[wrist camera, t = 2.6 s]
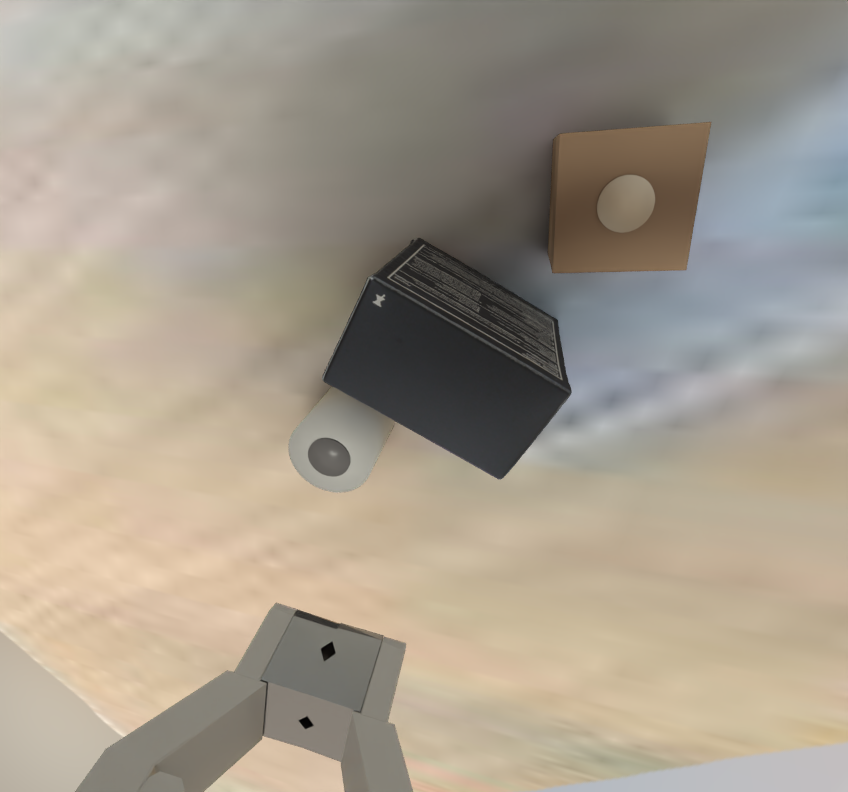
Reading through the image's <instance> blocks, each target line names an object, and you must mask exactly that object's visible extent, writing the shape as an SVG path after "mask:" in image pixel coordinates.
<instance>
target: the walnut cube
mask: <svg viewBox="0 0 848 792" xmlns="http://www.w3.org/2000/svg"><path fill="white" fill-rule="evenodd" d="M710 127H711V122H704V123H691V124H678V125H665V126H652V127H639V128H626V129H613V130H600V131H587V132H574V133H561V134H559V135H558V136H557V137H555V138H554V139H553V152H552V173H551V194H550V215H549V236H548V256H549V260H550V264H551V269H552V273H581V272H625V271H669V270H686V268H687V262H688V257H689V251H690V245H691V239H692V233H693V227H694V221H695V215H696V209H697V203H698V197H699V192H700V186H701V180H702V174H703V168H704V162H705V156H706V150H707V144H708V138H709V132H710Z"/></svg>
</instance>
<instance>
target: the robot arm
mask: <svg viewBox="0 0 848 792" xmlns="http://www.w3.org/2000/svg"><path fill="white" fill-rule="evenodd" d="M383 636H384V635H380V634H377V633H373V632H370V631H367V630H363V629H360V628H356V627H353V626H349V625H346V624H342V623H337V622H334V621H331V620H328V619H325V618H322V617H319V616H315V615H312V614H309V613H306V612H303V611H300V610H298V609H295V608H292V607H288V606H285V605H282V604H279V603H275V604H274V606H273V607H272V608H271V609H270V610H269V612H268V614H267V616H266V617H265V619H264V621H263V622H262V624H261V626H260V628H259V629H258V631H257V633H256V635H255V636H254V638H253V640H252V642H251V643H250V645H249V647H248V649H247V650H246V652H245V654H244V656H243V657H242V659H241V661H240V662H239V664H238V666H237V668H236V669H235V671H234V672H232V671H228V670H227V671H225V672H224V673H222V674H221V675H219V676H218V677H216V678H215V679H213V680H211V681H210V682H208V683H207V684H205V685H204V686H202V687H201V688H199V689H198V690H196V691H195V692H193V693H191V694H190V695H188V696H187V697H185V698H184V699H182V700H181V701H179V702H178V703H176V704H175V705H173V706H171V707H170V708H168V709H167V710H165V711H164V712H162V713H161V714H159V715H158V716H156V717H154V718H153V719H151V720H150V721H148V722H147V723H145V724H144V725H142V726H141V727H139V728H138V729H136V730H134V731H133V732H131V733H130V734H128V735H127V736H125V737H124V738H122V739H121V740H119V741H118V742H116V743H115V744H113V745H112V746H110V747H108V748H107V749H106V750H105V751H104V752H103V754H102V755H101V756H100V758H99V759H98V761H97V762H96V763H95V765H94V766H93V768H92V769H91V770H90V772H89V773H88V774H87V776H86V777H85V779H84V780H83V781H82V783H81V784H80V786H79V787H78V788H77V790H76V791H75V792H204V791H205V790H206V789H207V788H208V787H209V786H210V785H211V784H213V783H214V782H215V781H216V780H217V779H218V778H219V777H220V776H222V775H223V774H224V773H225V772H226V771H227V770H228V769H229V768H230V767H232V766H233V765H234V764H235V763H236V762H237V761H238V760H239V759H240V758H242V757H243V756H244V755H245V754H246V753H247V752H248V751H249V750H251V749H252V748H253V747H254V746H255V745H256V744H257V743H258V742H259V741H261V740H262V736H265V737H268V738H271V739H275V740H278V741H282V742H285V743H288V744H292V745H295V746H298V747H302V748H304V749H307V750H310V751H313V752H315V753H318V754H321V755H323V756H326V757H329V758H332V759H334V760H337V761H340V762H341V770H342V776H343V783H344V790H345V792H413V789H412V786H411V782H410V778H409V775H408V771H407V768H406V764H405V760H404V757H403V753H402V750H401V746H400V742H399V739H398V735H397V732H396V728H395V725H394V724H392V723H389V722H388V719H389V715H390V711H391V707H392V702H393V698H394V694H395V690H396V686H397V682H398V678H399V674H400V670H401V666H402V662H403V658H404V654H405V649H406V643H405V642H401V641H398V640H394V639H391V638H387V637H384V638H383Z"/></svg>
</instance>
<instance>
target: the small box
mask: <svg viewBox="0 0 848 792" xmlns="http://www.w3.org/2000/svg"><path fill="white" fill-rule="evenodd" d="M322 380H323V381H324V382H325V383H327V384H329V385H331V386H333V387H334V388H336V389H338V390H340V391H342V392H343V393H345V394H347V395H349V396H350V397H352V398H354V399H356V400H358V401H360V402H361V403H363V404H365V405H367V406H369V407H370V408H372V409H374V410H376V411H378V412H379V413H381V414H383V415H385V416H387V417H388V418H390V419H392V420H394V421H396V422H397V423H399V424H401V425H403V426H405V427H406V428H408V429H410V430H412V431H414V432H415V433H417V434H419V435H421V436H423V437H424V438H426V439H428V440H430V441H431V442H433V443H435V444H437V445H439V446H440V447H442V448H444V449H446V450H447V451H449V452H451V453H453V454H455V455H456V456H458V457H460V458H462V459H463V460H465V461H467V462H469V463H471V464H472V465H474V466H476V467H478V468H480V469H481V470H483V471H485V472H486V473H488V474H490V475H492V476H494V477H495V478H497V479H502V478H504V476H505V475H506V474H507V473H508V472H509V471H510V470H511V469H512V467H513V466H514V465H515V464H516V463H517V461H518V460H519V459H520V458H521V456H522V455H523V454H524V453H525V451H526V450H527V449H528V448H529V447H530V445H531V444H532V443H533V442H534V440H535V439H536V438H537V437H538V435H539V434H540V433H541V432H542V430H543V429H544V428H545V427H546V425H547V424H548V423H549V422H550V420H551V419H552V418H553V417H554V415H555V414H556V413H557V411H558V410H559V409H560V408H561V406H562V405H563V404H564V403H565V402H566V400H567V399H568V398H569V396H570V395H571V387H570V384H569V383H568V378H567V375H566V370H565V366H564V358H563V352H562V347H561V341H560V335H559V327H558V320H556V319H555V318H553V317H551V316H550V315H548V314H546V313H545V312H543V311H541V310H540V309H538V308H537V307H535V306H533V305H532V304H530V303H528V302H526V301H525V300H523V299H521V298H520V297H518V296H516V295H515V294H514V293H512V292H510V291H508V290H506V289H505V288H503V287H501V286H500V285H498V284H496V283H494V282H493V281H491V280H490V279H488V278H486V277H485V276H483V275H481V274H480V273H478V272H477V271H475V270H473V269H472V268H470V267H468V266H466V265H464V264H463V263H461V262H460V261H458V260H456V259H455V258H453V257H451V256H449V255H448V254H446V253H444V252H442V251H441V250H439V249H437V248H435V247H434V246H432V245H430V244H428V243H427V242H425V241H423V240H422V239H421V238H418V239H415V240H412V241H411V244H410V245H409V246H408V247H407V248H405V249H404V250H403V251H402V252H400V253H399V254H398V255H397V256H396V257H395V258H394V259H392V260H391V261H390V262H389V263H387V264H386V265H385V266H384V267H383V268H382V269H381V270H379V271H378V272H377V273H376V274H373V275H371V276H369V277H368V278H367V280H366V283H365V286H364V288H363V290H362V292H361V294H360V297H359V299H358V301H357V303H356V305H355V308H354V310H353V312H352V314H351V316H350V318H349V320H348V322H347V325H346V327H345V329H344V331H343V334H342V336H341V337H340V340H339V342H338V344H337V346H336V348H335V350H334V353H333V355H332V357H331V359H330V361H329V363H328V366H327V368H326V369H325V372H324V374H323V377H322Z"/></svg>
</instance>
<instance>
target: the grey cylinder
mask: <svg viewBox="0 0 848 792" xmlns="http://www.w3.org/2000/svg"><path fill="white" fill-rule="evenodd" d="M393 426H394V420H392V419H390V418H388V417H387V416H385V415H383V414H381V413H379V412H378V411H376V410H374V409H372V408H370V407H369V406H367V405H365V404H363V403H361V402H360V401H358V400H356V399H354V398H352V397H350V396H349V395H347V394H345V393H343V392H342V391H340V390H338V389H336V388H334V387H333V386H332V387H331V388H330V389H329V390H328V392H327V393H326V394H325V395H324V396H323V397H322V399H321V400H320V401H319V402H318V403H317V404H316V405H315V407H314V408H313V409H312V410H311V411H310V412H309V414H308V415H307V416H306V417H305V418H304V419H303V421H302V422H301V423H300V424H299V425H298V426H297V427H296V429H295V430H294V431H293V433H292V435H291V437H290V440H289V455H290V459H291V461H292V464H293V465H294V467H295V469H296V470H297V472H298V473H299V474H300V475H301V476H302V477H303V478H304V479H305V480H306V481H308V482H309V483H310V484H312V485H314V486H315V487H318V488H320V489H322V490H325V491H330V492H348V491H351V490H354V489H356V488H358V487H360V486H361V485H362V484H363V483H364V482H365V481H366V480H367V478H368V477H369V475H370V473H371V471H372V469H373V467H374V465H375V463H376V461H377V459H378V457H379V455H380V453H381V451H382V449H383V447H384V445H385V443H386V441H387V439H388V437H389V435H390V433H391V431H392V429H393Z"/></svg>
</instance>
